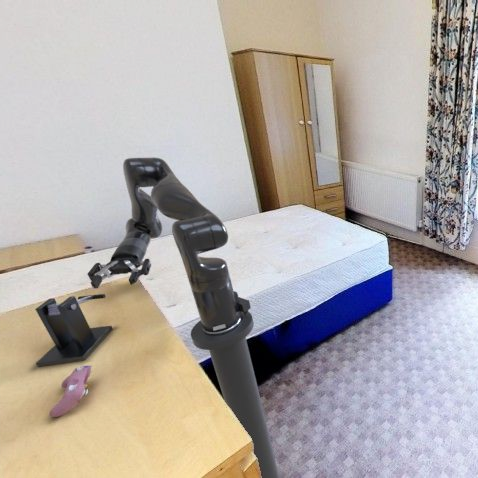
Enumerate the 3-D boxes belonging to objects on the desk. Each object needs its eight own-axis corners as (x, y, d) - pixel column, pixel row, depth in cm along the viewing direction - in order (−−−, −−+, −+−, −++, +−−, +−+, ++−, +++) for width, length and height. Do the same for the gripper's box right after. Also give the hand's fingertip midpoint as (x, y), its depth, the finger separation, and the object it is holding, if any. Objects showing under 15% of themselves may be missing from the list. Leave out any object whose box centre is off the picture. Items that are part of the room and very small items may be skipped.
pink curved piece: (79, 417, 66) (88, 388, 66) (46, 420, 63) (56, 390, 63) (90, 384, 74) (98, 358, 73) (61, 386, 71) (69, 358, 70)
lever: (81, 302, 88) (80, 293, 88) (106, 299, 90) (104, 291, 89) (39, 316, 76) (38, 306, 75) (69, 313, 77) (67, 303, 77)
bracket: (72, 334, 87) (50, 291, 81) (113, 329, 89) (94, 286, 83) (37, 367, 76) (9, 320, 70) (84, 360, 78) (60, 314, 73)
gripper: (98, 246, 104) (76, 277, 92) (153, 242, 110) (138, 271, 98) (107, 264, 108) (87, 296, 96) (159, 259, 114) (146, 290, 102)
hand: (113, 284), depth 97 cm, fingers open, 8 cm apart
